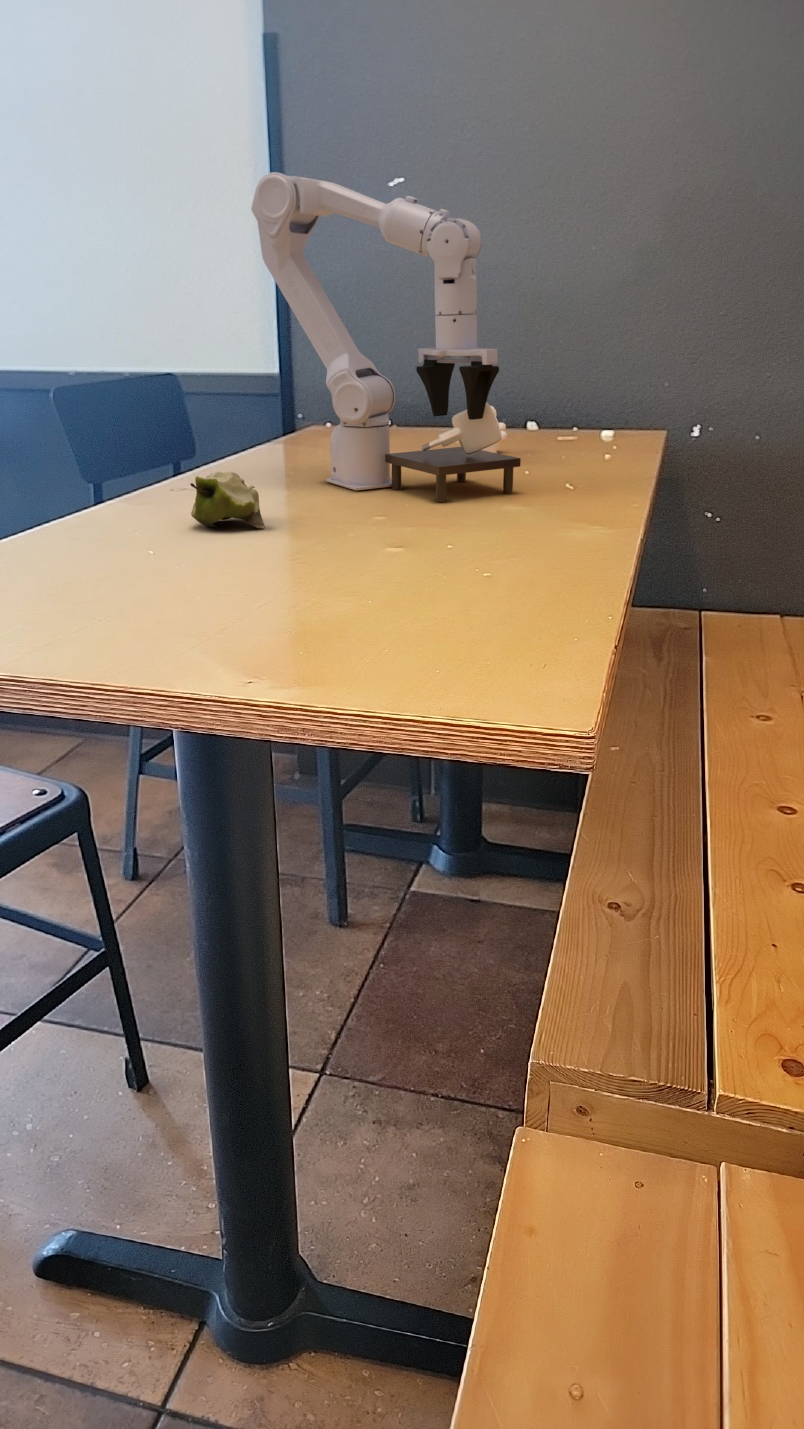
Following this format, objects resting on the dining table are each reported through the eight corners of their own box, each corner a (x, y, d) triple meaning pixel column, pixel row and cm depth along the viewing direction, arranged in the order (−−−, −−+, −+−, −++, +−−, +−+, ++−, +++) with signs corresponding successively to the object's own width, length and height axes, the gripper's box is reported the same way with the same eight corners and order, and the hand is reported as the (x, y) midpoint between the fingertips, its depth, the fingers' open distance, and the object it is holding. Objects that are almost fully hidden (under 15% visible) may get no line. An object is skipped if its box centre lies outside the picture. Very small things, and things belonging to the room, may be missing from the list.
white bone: (506, 465, 176) (508, 414, 173) (454, 464, 177) (455, 414, 174) (505, 451, 190) (506, 404, 187) (456, 451, 191) (457, 404, 188)
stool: (385, 488, 157) (385, 454, 155) (463, 479, 164) (463, 446, 162) (438, 503, 146) (438, 466, 144) (519, 493, 153) (520, 458, 151)
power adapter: (431, 472, 151) (414, 433, 149) (431, 469, 155) (415, 431, 154) (504, 440, 149) (488, 400, 147) (502, 438, 154) (487, 399, 152)
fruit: (210, 547, 128) (191, 481, 125) (191, 538, 136) (172, 476, 133) (281, 525, 131) (263, 460, 128) (257, 517, 139) (241, 456, 136)
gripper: (400, 316, 149) (403, 416, 154) (469, 315, 138) (470, 423, 143) (439, 314, 153) (441, 412, 158) (509, 313, 142) (508, 418, 147)
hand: (457, 417), depth 150 cm, fingers open, 7 cm apart
